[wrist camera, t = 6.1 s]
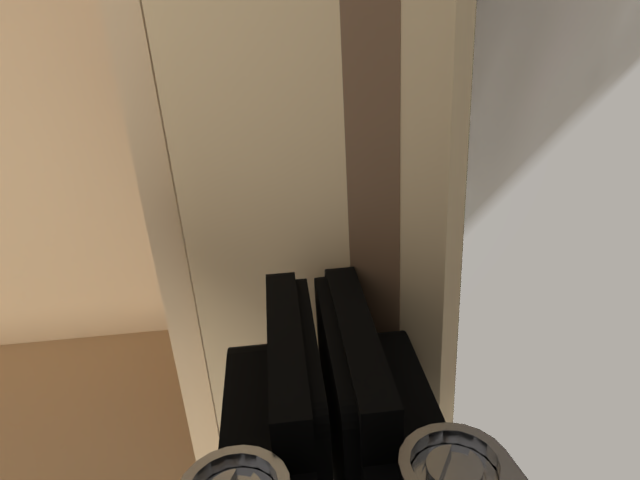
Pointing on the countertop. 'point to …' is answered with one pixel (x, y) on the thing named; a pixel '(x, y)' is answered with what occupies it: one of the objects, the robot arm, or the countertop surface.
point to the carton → (92, 256)
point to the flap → (320, 159)
